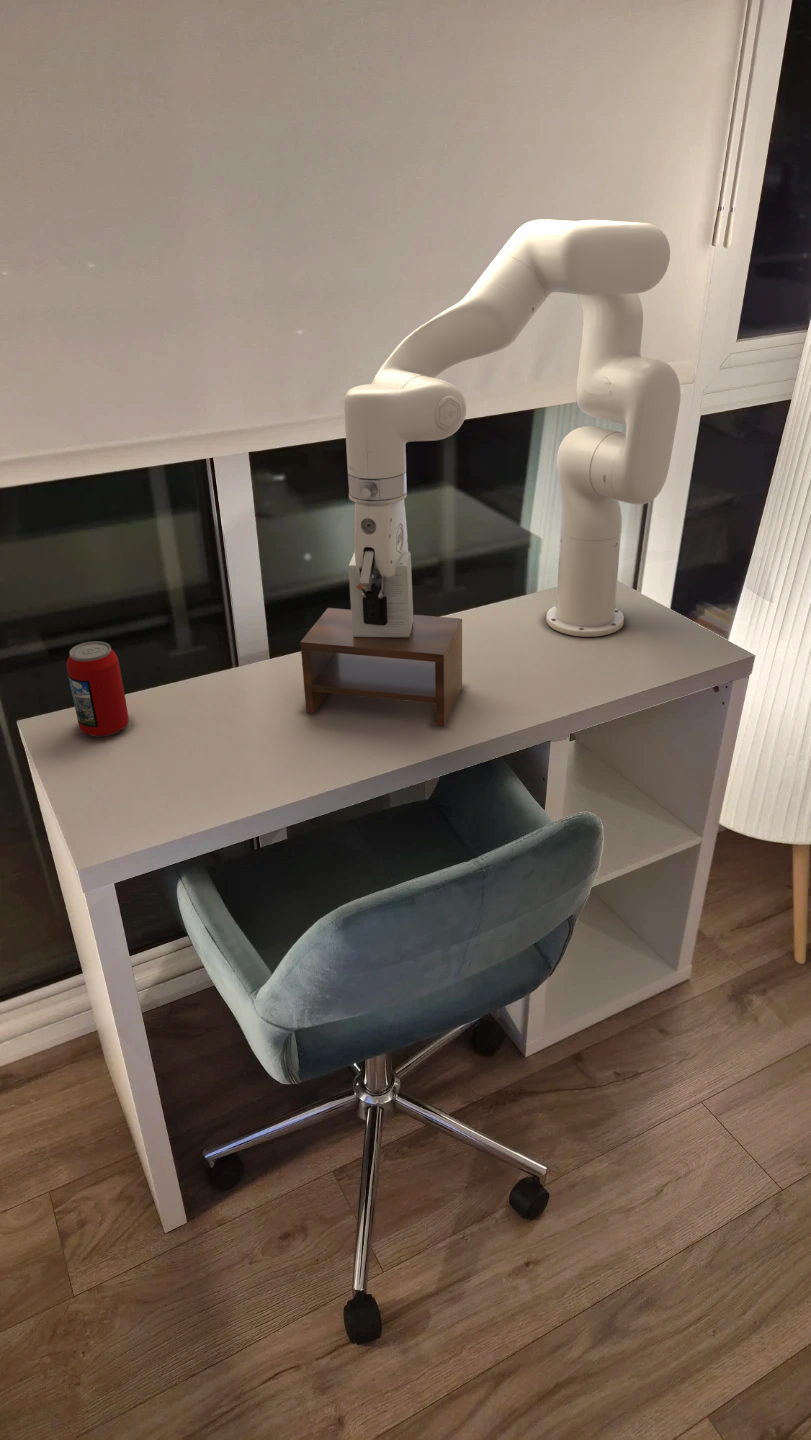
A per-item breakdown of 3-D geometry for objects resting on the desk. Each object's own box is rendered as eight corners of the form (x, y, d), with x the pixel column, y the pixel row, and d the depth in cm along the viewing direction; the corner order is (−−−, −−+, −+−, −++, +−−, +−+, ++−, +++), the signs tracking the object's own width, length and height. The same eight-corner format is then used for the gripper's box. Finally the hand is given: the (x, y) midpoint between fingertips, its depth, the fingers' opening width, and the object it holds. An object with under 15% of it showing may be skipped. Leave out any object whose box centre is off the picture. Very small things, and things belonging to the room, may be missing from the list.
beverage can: (76, 722, 146) (60, 644, 140) (125, 712, 148) (111, 635, 142) (83, 744, 140) (67, 664, 134) (134, 733, 142) (119, 654, 137)
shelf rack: (332, 675, 157) (327, 607, 151) (462, 687, 152) (462, 618, 147) (306, 712, 146) (300, 641, 141) (444, 727, 142) (443, 654, 136)
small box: (413, 622, 146) (412, 550, 141) (410, 638, 141) (408, 565, 136) (357, 621, 147) (353, 550, 142) (351, 637, 142) (347, 565, 137)
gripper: (387, 507, 126) (392, 642, 135) (421, 468, 140) (423, 592, 149) (328, 504, 127) (337, 637, 136) (368, 465, 142) (373, 588, 151)
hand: (382, 612), depth 143 cm, fingers closed on small box, 6 cm apart
